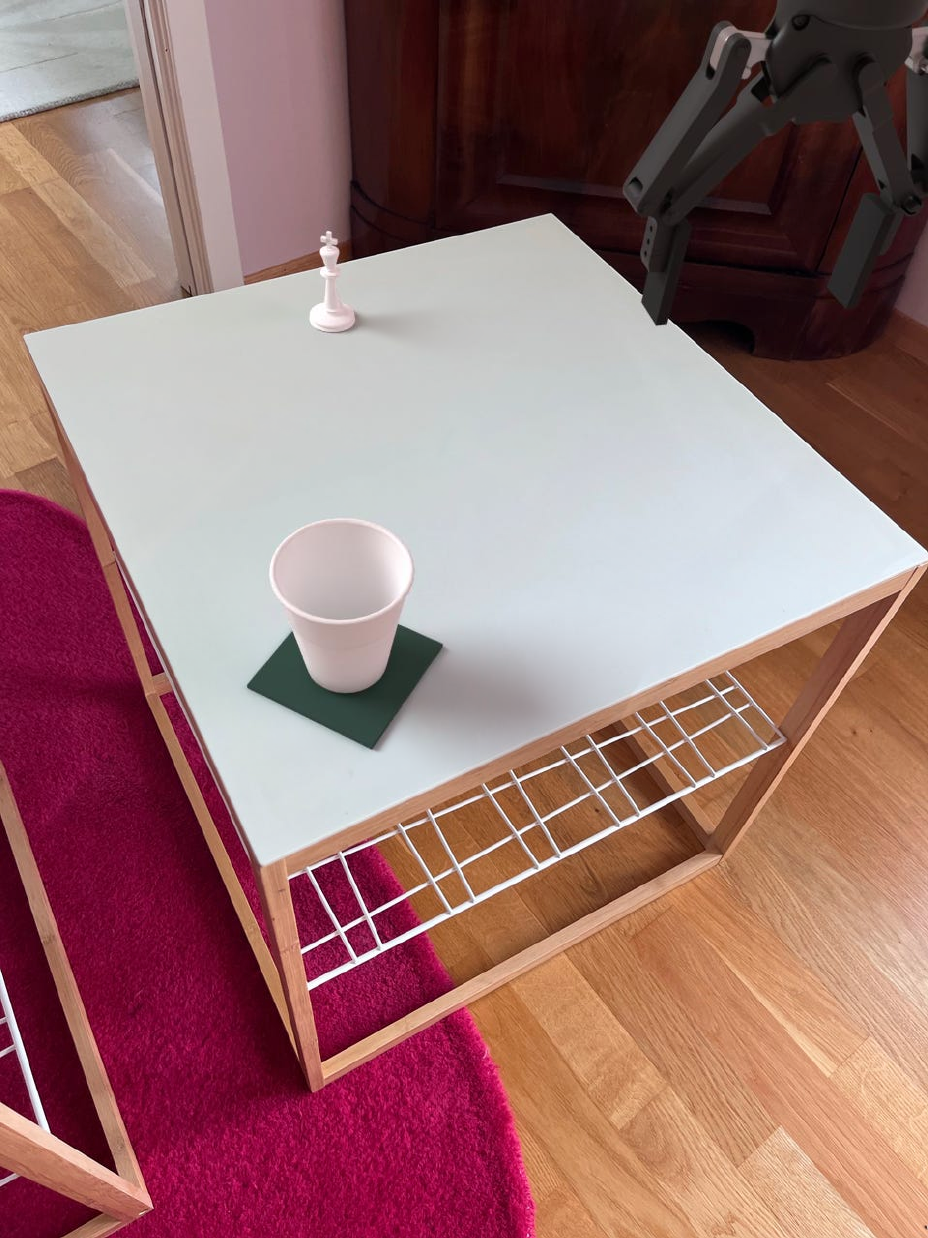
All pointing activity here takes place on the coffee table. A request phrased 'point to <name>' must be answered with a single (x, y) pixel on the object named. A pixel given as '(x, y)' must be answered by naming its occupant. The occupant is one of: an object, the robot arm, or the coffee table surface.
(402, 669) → the mat
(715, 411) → the coffee table surface
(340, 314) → the chess piece
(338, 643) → the cup
